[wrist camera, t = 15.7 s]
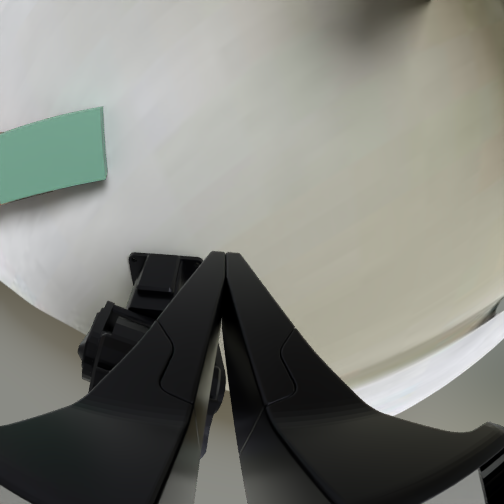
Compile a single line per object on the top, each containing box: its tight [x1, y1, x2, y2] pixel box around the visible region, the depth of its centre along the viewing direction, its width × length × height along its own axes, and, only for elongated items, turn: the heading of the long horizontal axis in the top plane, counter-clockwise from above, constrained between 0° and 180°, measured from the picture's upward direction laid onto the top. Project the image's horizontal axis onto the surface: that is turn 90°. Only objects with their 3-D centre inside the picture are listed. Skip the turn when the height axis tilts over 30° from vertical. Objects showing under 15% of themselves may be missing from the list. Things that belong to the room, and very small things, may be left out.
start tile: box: [0, 107, 107, 204], centre depth 14 cm, size 2×5×9 cm
